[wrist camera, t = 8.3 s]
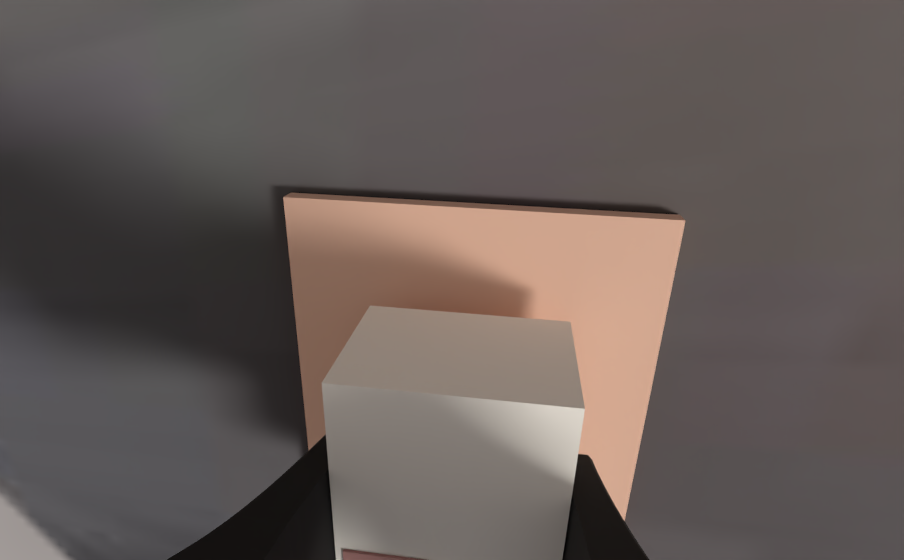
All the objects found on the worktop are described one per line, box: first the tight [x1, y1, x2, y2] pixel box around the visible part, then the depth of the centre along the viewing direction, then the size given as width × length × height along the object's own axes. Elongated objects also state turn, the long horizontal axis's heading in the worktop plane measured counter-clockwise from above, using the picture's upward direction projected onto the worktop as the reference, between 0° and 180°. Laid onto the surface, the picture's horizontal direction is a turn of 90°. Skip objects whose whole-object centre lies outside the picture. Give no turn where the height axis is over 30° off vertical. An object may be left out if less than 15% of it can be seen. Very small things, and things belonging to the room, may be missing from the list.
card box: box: [322, 305, 585, 560], centre depth 13 cm, size 5×7×4 cm
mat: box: [283, 193, 685, 521], centre depth 16 cm, size 12×10×1 cm
